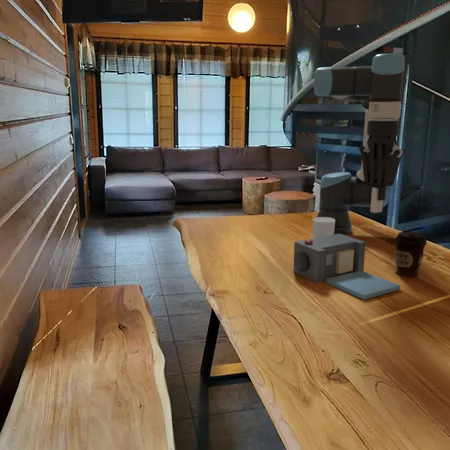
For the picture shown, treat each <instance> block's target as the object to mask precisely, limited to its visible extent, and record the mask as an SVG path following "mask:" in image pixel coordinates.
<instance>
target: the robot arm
mask: <svg viewBox="0 0 450 450" xmlns="http://www.w3.org/2000/svg"><path fill="white" fill-rule="evenodd" d="M405 63H406V62H405V55H404V54H402V53H380V54H376V55H375V56H373V58H372V62H371V64H372V65H370V66H369V65H367V66H334V67H333V66H331V67H330V66H326V67H325V66H324V67H318V68H316V69H315V71H314V78H313V91H314V94H315V96H318V97H332V98H333V99H336V100H341V101H345V102H359V103H361V108H362V109H363V110H364V111H365V114H364V126H363V127H364V128H363V141H362V145H361V146H359V148H358V150H359V152H360V155H361V166H360V170H357V172H356V176H352V174H351V173H350V172H348V171H347V172H344V171H343V172H331V173H326V174H324V175H323V176H322V177H321V178H320V185H319V204H318V206H319V208H318V212H317V215H316V217H328V218H333V219H335V228H334V234H343V235H347V234H349V233H351V232H352V231H353V230H352V229H353V226H352V220H351V218H350V212H349V210H350V208H349V207H350V206H351V207H366V208H367V207H369V208H370V213H373V214H377V213H382V212H383V208H384V207H385V206H386V205H388V201H389V199H390V195H391V188H392V186H394V183H395V179H396V178H397V177H396V176H397V172H398V170H399V166H400V163H401V161H402V158H403V157H404V155H405V154H406V151H405V149H401V148H400V147H399V146H398V140H397V136H398V135H399V131H400V122H399V120H398V119H400V118H401V110H402V109H401V107H402V93H403V85H404V74H405V70H406V67H405Z"/></svg>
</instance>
